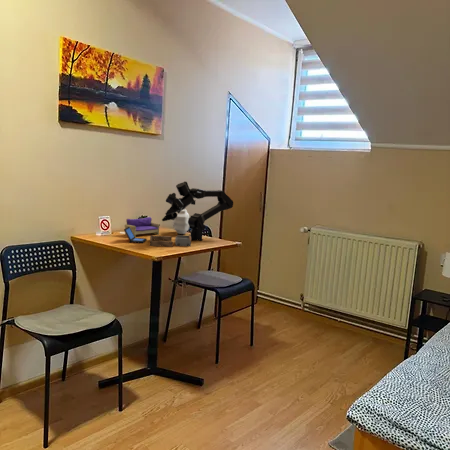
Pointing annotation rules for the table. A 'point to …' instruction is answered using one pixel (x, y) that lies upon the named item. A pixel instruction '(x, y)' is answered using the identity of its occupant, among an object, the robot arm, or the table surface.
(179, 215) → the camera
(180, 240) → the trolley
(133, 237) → the handheld game console
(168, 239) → the bay
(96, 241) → the table surface
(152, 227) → the toy sofa
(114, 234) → the table surface
